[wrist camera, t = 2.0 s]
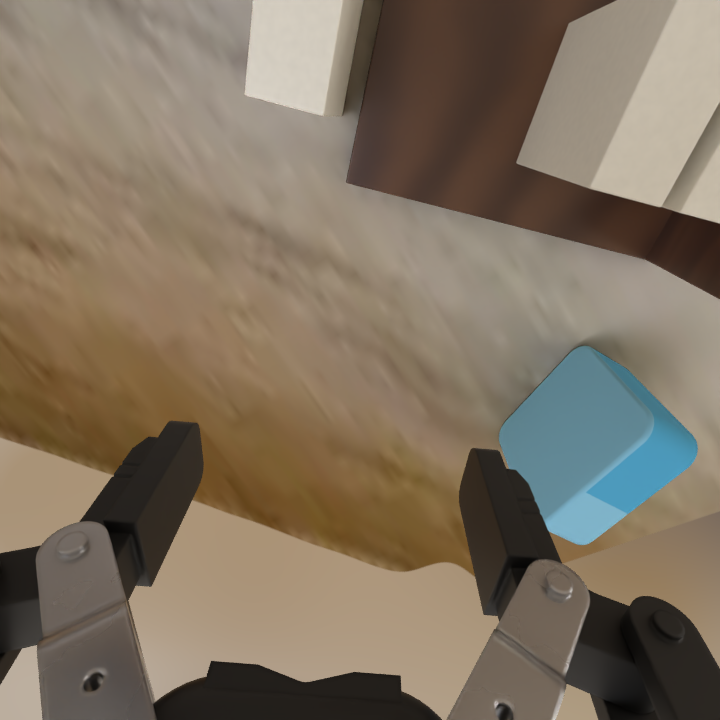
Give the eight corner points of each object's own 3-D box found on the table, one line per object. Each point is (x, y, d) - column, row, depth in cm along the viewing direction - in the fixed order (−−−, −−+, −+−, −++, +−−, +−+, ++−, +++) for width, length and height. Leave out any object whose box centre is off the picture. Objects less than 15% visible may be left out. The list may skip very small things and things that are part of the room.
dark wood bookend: (346, 181, 32) (328, 221, 20) (398, -71, 25) (418, -244, 13) (656, 260, 34) (812, 341, 22) (781, 48, 27) (1106, -6, 15)
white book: (575, 179, 31) (679, 212, 20) (636, 43, 27) (804, -4, 16) (623, 192, 31) (749, 231, 20) (690, 59, 27) (888, 23, 17)
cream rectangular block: (515, 163, 30) (588, 188, 20) (568, 22, 26) (695, -39, 16) (563, 176, 30) (661, 208, 20) (623, 39, 27) (783, -11, 16)
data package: (529, 450, 44) (577, 554, 33) (494, 431, 43) (532, 533, 32) (620, 361, 39) (710, 452, 28) (582, 338, 38) (661, 423, 27)
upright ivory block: (290, 102, 30) (243, 95, 19) (311, -50, 26) (266, -163, 15) (342, 116, 30) (323, 116, 20) (369, -33, 26) (365, -131, 16)
